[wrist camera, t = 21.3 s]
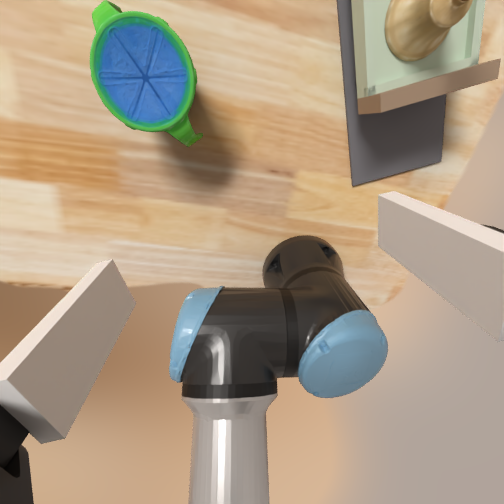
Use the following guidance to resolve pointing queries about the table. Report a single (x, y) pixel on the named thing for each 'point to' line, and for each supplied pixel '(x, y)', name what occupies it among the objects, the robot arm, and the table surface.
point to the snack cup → (143, 72)
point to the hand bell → (421, 25)
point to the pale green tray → (414, 72)
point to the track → (386, 123)
